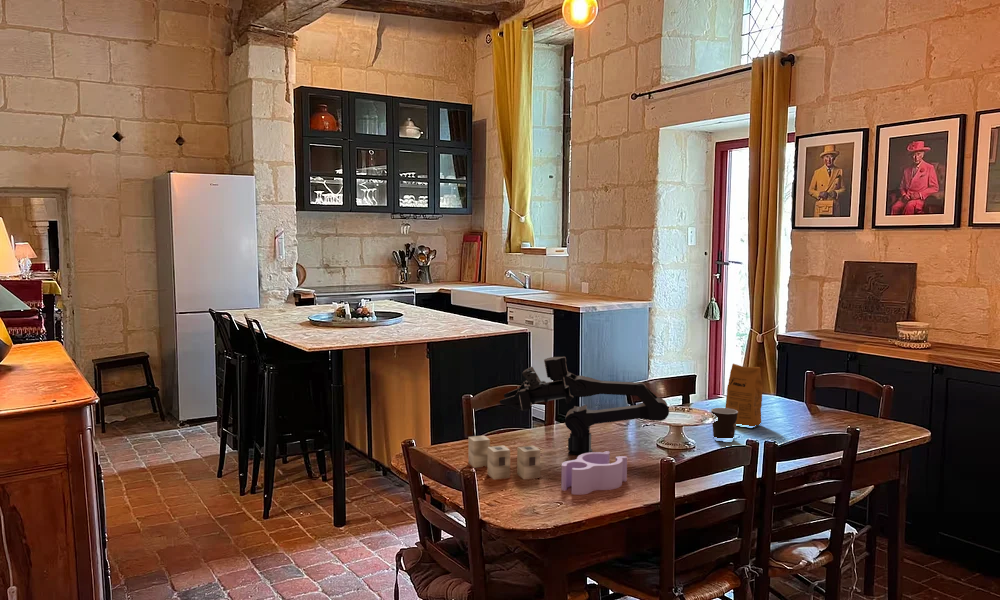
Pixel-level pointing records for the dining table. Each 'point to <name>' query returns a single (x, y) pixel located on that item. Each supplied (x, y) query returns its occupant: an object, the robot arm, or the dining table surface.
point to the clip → (593, 473)
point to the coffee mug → (724, 422)
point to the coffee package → (745, 394)
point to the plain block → (478, 451)
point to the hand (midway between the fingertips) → (502, 398)
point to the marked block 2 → (528, 462)
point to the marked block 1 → (498, 462)
